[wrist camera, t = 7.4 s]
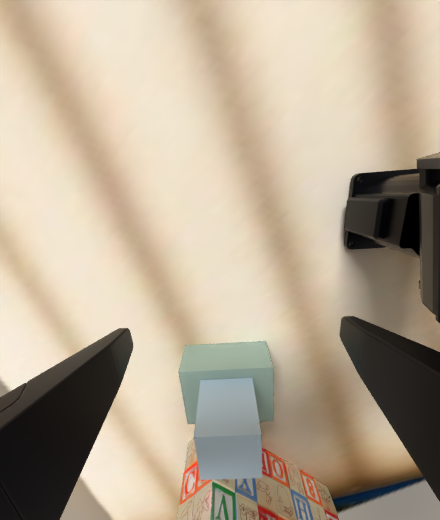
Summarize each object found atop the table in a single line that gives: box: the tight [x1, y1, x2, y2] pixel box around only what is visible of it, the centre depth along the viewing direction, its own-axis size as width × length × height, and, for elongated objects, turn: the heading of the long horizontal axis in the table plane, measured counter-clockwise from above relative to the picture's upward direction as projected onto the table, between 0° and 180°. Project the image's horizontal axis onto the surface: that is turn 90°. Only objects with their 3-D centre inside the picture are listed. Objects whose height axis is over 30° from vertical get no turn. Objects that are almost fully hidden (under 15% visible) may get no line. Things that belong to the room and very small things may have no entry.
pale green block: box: [179, 341, 273, 424], centre depth 23 cm, size 9×7×4 cm
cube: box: [194, 378, 262, 480], centre depth 19 cm, size 5×5×5 cm
